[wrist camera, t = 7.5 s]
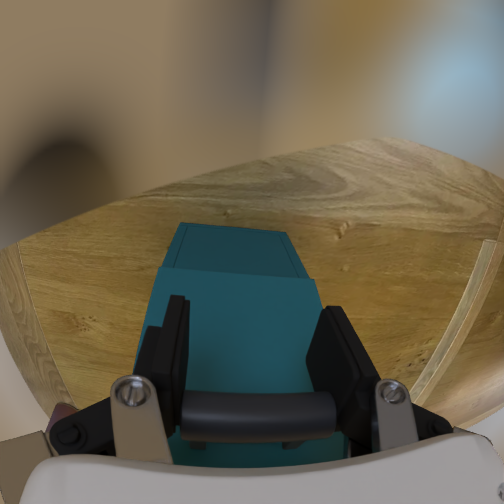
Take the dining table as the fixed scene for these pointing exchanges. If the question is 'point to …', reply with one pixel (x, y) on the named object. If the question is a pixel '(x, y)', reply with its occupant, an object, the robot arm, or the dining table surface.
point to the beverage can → (60, 413)
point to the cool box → (233, 251)
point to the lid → (247, 371)
